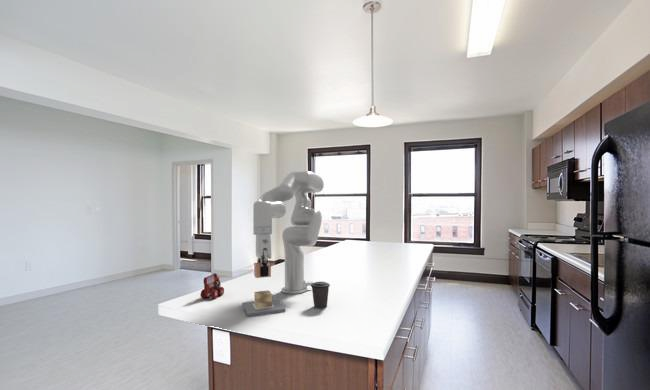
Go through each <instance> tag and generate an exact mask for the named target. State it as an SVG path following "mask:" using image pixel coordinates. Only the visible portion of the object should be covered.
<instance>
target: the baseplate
mask: <svg viewBox="0 0 650 390" xmlns="http://www.w3.org/2000/svg"><path fill="white" fill-rule="evenodd" d="M241 305H242V309H243V310H244V313H245V316H246V317H247V318H249V317H256V316H263V315H264V316H265V315H270V314H277V313H278V314H279V313H285V312H286V307H285V306H284V305H283V303H282V302H280V300H279V299H278V298H277V297H276V298H272V306H270V307H263V308H257V307H256V306H255V303H254V300H251V301H245V302H244V301H243V302H241Z"/></svg>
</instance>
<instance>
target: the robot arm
mask: <svg viewBox="0 0 650 390" xmlns="http://www.w3.org/2000/svg"><path fill="white" fill-rule="evenodd" d="M324 185H325V184H324V180H323V178H322V177H321V176H320V175H319V174H317V173H314V172H313V171H309V170H301V171H292V172H290V173H288V174H287V175H286V177H285V178H284V179H283V180H282V182H281V183H280V184H279V185H278V186H276V187H274V188H272V189H270V190H268V191H266V192H264V193H263V194H262V195H260V197H258V199H257V200H256V201H255V202H254V203H253V207H252V208H253V213H252V215H253V220H252V221H253V227H252V229H253V232H252V233H253V235H255V257H256V258H257V262H256V263H261V266H260V276H261V277H262V278H264V277H263V276H268V262H269V260H270V259H272V241H271V240H272V239H271V235H273V234H272V233H273V222H272V220H273V219H280V218H283V217H284V216H285V215H286V212H287V207H286V204H285V203H284V202H286V201H289V200H292V199H293V197H294V198H295V204H294V206H293V210H292V214H291V216H290V224H291V226H288V227H286V228H285V229H284V230H283V231H282V234H281V235H282V236H281V237H282V243H283V249H284V286H283V287H281V292H282V293H285V294H290V295H293V294H294V295H296V294H303V293H307V291H308V286H310V287H311V284H312V283H314V281H313V280H312V281H309V280H308V281H306V280H305V254H304V251H303V250H302V248H301V247H314V246H315V245H316V243H317V241H318V238H319V235H320V230H321V226H322V213H321V211H320V210H319V209H318V208H312V200H311V199H310V197H309V196H308V195H307V194H308V193H310V194H311V193H315V194H316V193H321V192H322V191H323V189H324ZM306 193H307V194H306Z"/></svg>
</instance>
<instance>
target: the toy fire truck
mask: <svg viewBox="0 0 650 390" xmlns="http://www.w3.org/2000/svg"><path fill="white" fill-rule="evenodd" d="M221 285H222V283H221V281H220V277H219V276H218V274H217V273H216V272H214V273H212V274H211V275H207V276H205V277H204V278H203V288H204V289H201V291H200V298H201V299H207V298H209V297H210V298H211V299H212V300H217V299H218V297H222V296H224V293H225V288H224V287H223V286H221Z"/></svg>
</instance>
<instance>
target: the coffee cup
mask: <svg viewBox="0 0 650 390" xmlns="http://www.w3.org/2000/svg"><path fill="white" fill-rule="evenodd" d="M330 286H331V285H330V283H329V282H325V281H316V282H313V283H312V284H311V286H310V287H311V291H312V299H313V301H312V302H313V307H314V308H315V309H319V310H323V308H324V309H326V308H327V307H328V298H329V289H330Z"/></svg>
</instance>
